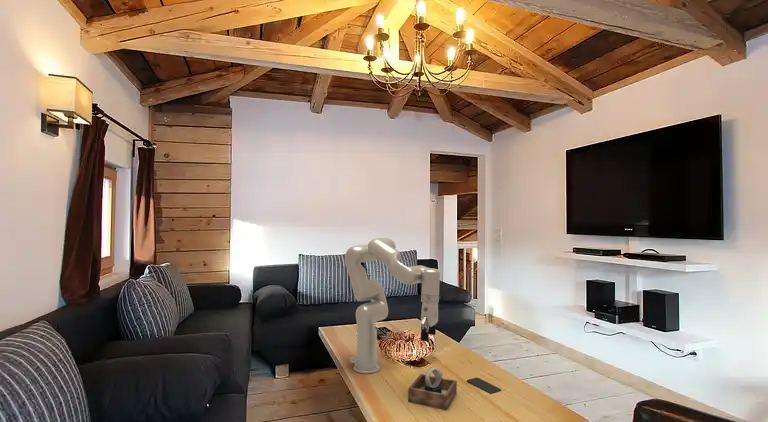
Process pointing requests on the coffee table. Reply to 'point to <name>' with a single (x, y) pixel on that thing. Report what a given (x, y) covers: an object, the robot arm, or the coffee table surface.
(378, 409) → the coffee table surface
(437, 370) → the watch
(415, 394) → the box
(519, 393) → the coffee table surface
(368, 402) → the coffee table surface
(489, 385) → the phone
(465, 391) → the coffee table surface
